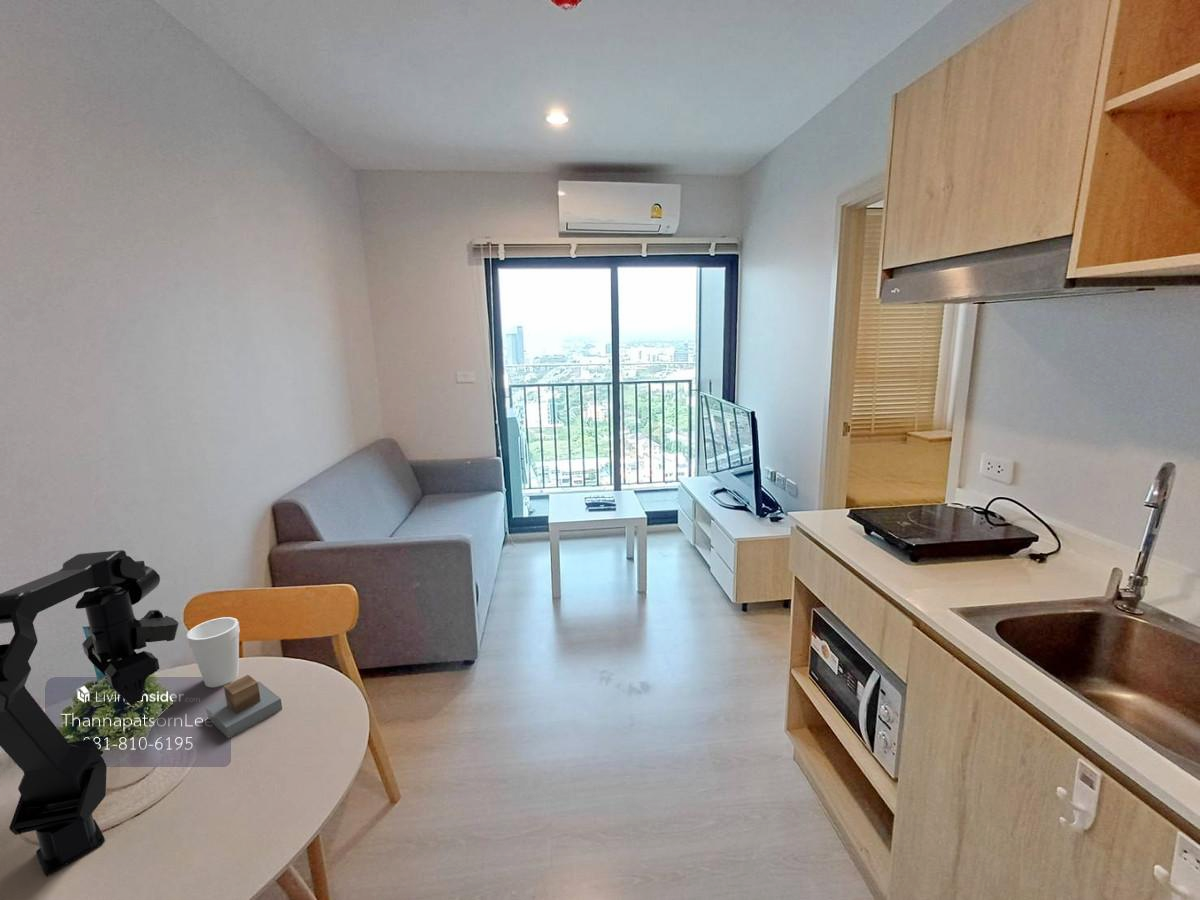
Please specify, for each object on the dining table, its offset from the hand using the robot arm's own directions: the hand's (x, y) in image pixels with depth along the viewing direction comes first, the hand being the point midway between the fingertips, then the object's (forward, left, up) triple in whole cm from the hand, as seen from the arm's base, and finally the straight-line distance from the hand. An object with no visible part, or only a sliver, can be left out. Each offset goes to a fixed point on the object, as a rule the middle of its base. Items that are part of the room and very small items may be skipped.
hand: (128, 695), depth 93 cm
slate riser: (-4, -16, -13) cm, 21 cm away
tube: (+22, -2, -13) cm, 26 cm away
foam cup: (+14, -18, -13) cm, 26 cm away
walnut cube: (-4, -16, -10) cm, 19 cm away
